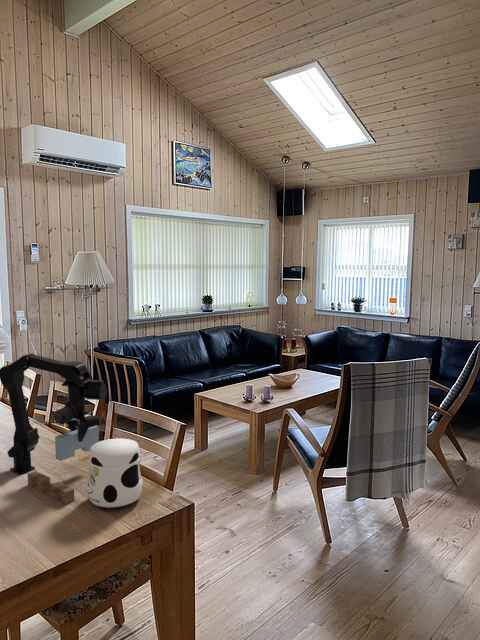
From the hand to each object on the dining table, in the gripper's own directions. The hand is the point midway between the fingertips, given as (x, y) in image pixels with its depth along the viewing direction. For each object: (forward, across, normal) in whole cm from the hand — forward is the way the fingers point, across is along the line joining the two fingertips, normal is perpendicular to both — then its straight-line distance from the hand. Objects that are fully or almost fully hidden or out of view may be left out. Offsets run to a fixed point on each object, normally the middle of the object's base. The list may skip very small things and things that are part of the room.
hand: (77, 440), depth 177 cm
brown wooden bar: (+13, +4, -14) cm, 19 cm away
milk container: (+13, +25, -4) cm, 29 cm away
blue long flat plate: (+4, 0, 0) cm, 4 cm away
